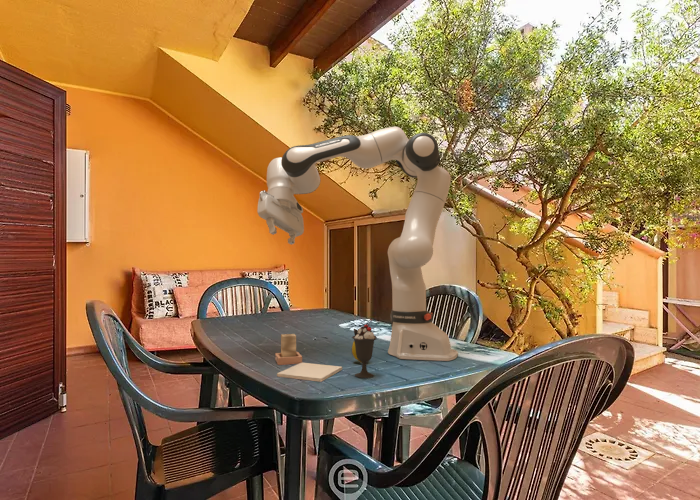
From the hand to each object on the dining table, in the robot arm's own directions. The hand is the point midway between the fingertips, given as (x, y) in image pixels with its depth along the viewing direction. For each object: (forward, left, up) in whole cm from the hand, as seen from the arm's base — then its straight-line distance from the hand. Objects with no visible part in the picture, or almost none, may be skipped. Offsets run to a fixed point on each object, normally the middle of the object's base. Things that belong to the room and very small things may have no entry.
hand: (282, 238), depth 132 cm
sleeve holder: (-5, +4, -38) cm, 38 cm away
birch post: (-5, +4, -38) cm, 38 cm away
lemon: (-26, -3, -38) cm, 46 cm away
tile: (-17, +13, -38) cm, 43 cm away
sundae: (-32, +10, -38) cm, 50 cm away
